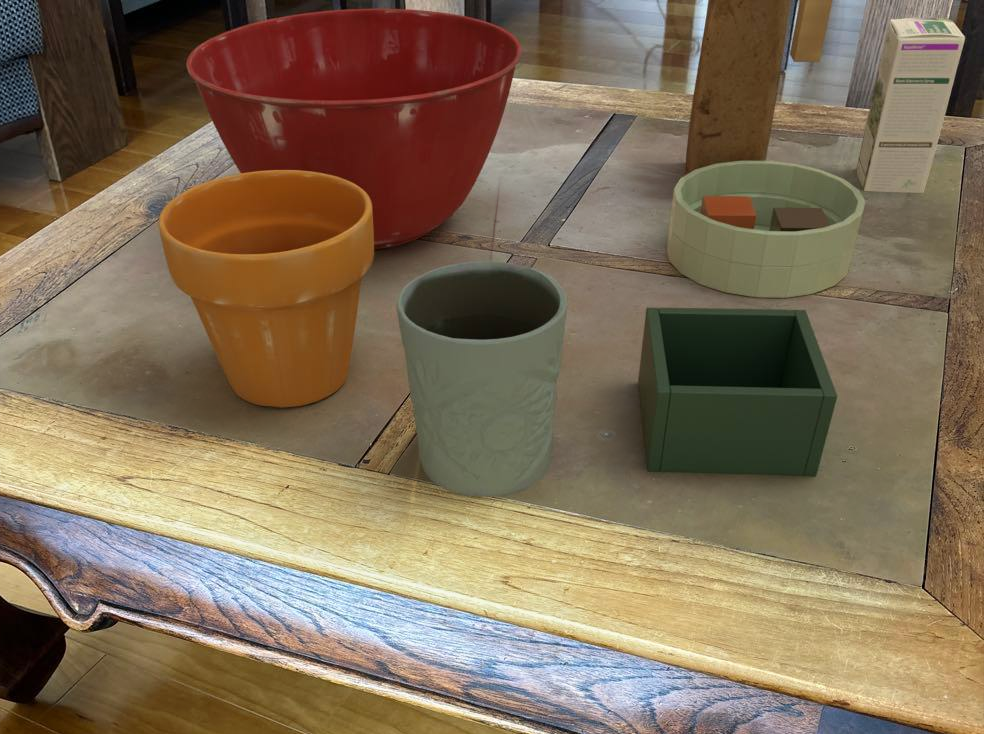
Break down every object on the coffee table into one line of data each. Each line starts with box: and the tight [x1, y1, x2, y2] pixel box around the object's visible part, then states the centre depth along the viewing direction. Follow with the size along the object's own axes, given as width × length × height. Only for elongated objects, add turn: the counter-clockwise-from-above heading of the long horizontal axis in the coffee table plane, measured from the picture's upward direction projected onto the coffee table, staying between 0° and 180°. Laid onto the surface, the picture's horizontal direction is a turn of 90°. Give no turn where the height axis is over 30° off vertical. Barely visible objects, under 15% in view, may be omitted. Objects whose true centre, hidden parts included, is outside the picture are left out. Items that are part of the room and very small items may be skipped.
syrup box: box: [855, 17, 966, 194], centre depth 95 cm, size 6×6×14 cm
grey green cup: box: [395, 261, 568, 498], centre depth 64 cm, size 10×10×12 cm
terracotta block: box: [700, 196, 756, 229], centre depth 88 cm, size 4×4×4 cm
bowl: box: [666, 160, 866, 299], centre depth 87 cm, size 15×15×6 cm
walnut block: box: [769, 208, 830, 232], centre depth 86 cm, size 4×4×4 cm
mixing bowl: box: [185, 8, 523, 250], centre depth 92 cm, size 28×28×16 cm
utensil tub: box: [637, 307, 838, 478], centre depth 67 cm, size 11×11×7 cm
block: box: [684, 0, 792, 176], centre depth 95 cm, size 11×8×20 cm
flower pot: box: [157, 170, 375, 408], centre depth 72 cm, size 14×14×13 cm
